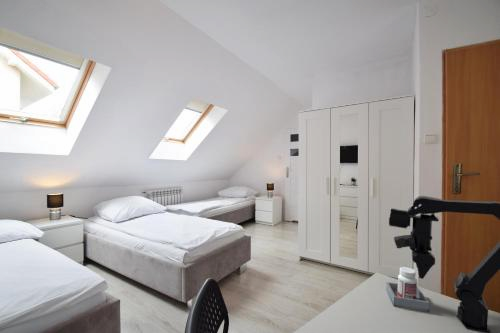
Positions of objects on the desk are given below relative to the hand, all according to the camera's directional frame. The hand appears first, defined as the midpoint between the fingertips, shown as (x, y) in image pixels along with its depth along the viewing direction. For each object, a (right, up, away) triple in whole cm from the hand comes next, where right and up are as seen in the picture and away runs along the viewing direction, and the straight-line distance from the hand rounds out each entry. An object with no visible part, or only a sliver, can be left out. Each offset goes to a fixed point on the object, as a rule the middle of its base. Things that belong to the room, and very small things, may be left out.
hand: (419, 272), depth 89 cm
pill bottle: (-2, -12, +5) cm, 13 cm away
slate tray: (-2, -13, +5) cm, 14 cm away
